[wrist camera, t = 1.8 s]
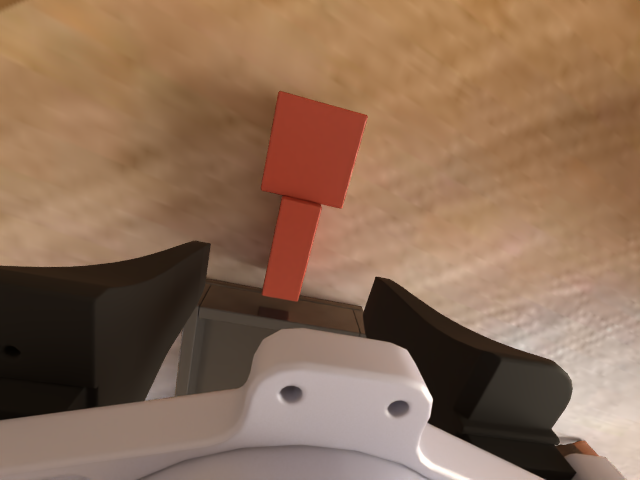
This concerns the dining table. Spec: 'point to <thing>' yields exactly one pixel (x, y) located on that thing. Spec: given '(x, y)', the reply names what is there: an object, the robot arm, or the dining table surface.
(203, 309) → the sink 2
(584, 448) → the brown openwork arch
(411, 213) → the dining table surface
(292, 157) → the brush
